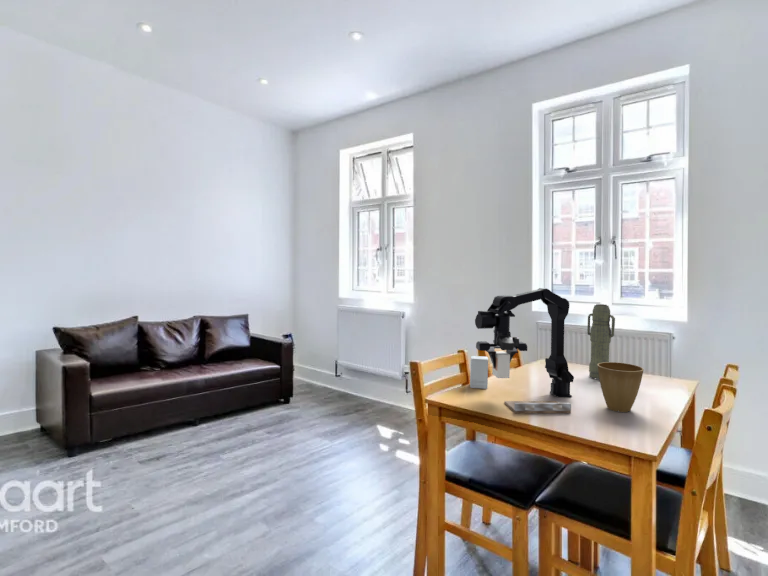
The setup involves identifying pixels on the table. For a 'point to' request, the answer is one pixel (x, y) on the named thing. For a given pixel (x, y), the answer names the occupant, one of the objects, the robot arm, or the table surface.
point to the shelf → (538, 406)
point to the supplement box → (479, 372)
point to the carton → (502, 365)
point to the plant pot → (619, 384)
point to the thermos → (600, 337)
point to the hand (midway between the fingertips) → (500, 368)
